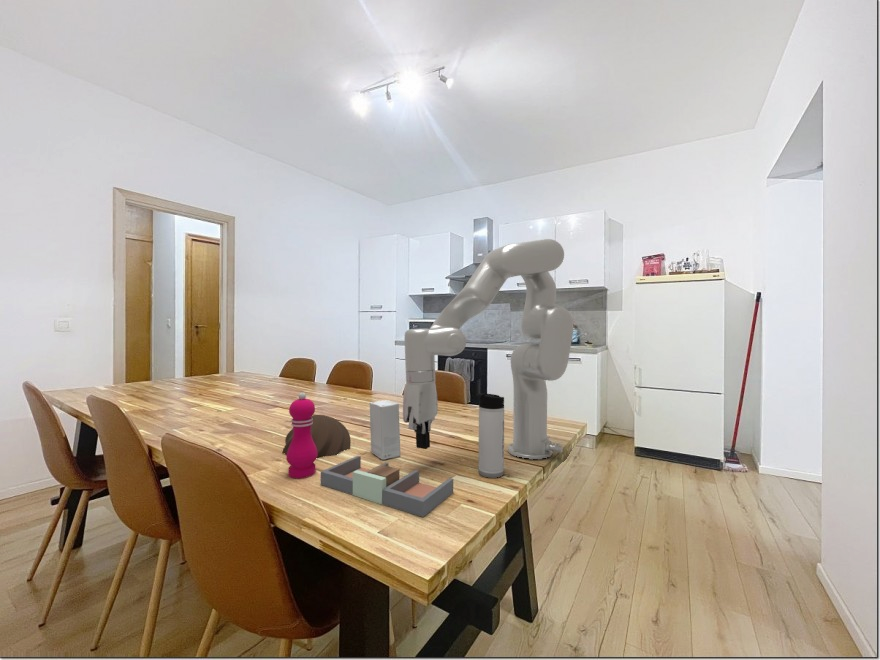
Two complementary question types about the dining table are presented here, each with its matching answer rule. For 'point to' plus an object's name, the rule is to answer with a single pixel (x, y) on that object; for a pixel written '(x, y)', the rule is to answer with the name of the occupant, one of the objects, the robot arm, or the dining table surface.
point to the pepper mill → (301, 439)
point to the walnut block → (386, 473)
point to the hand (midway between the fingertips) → (423, 447)
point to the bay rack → (373, 487)
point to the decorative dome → (325, 436)
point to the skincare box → (385, 429)
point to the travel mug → (491, 435)
